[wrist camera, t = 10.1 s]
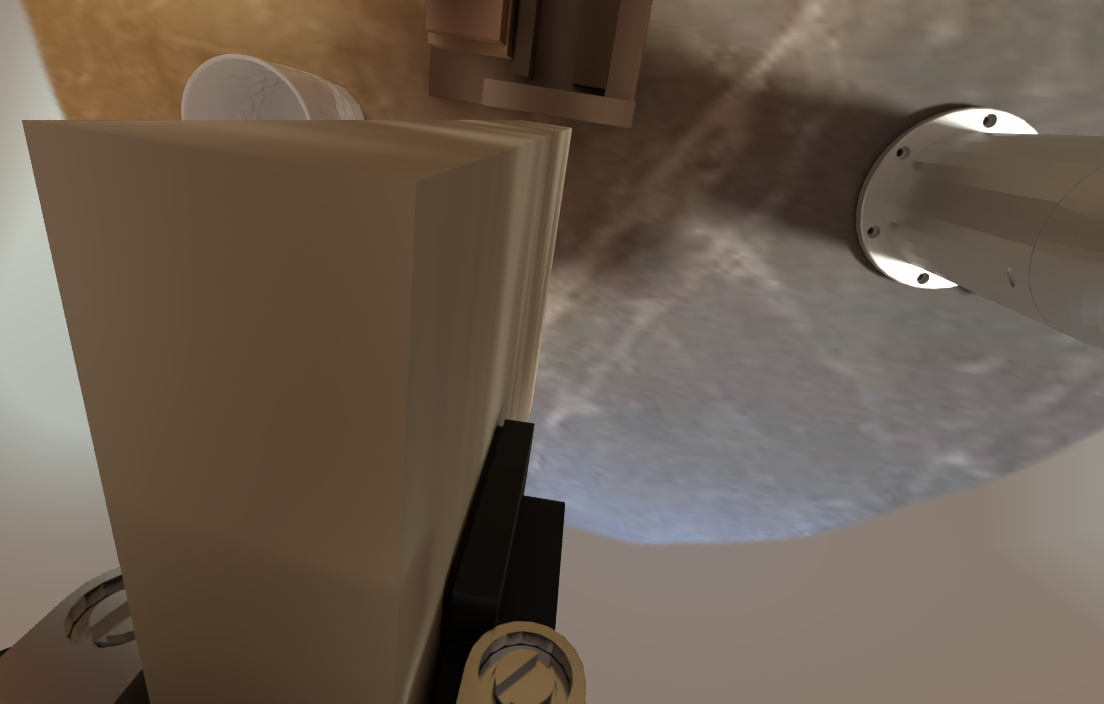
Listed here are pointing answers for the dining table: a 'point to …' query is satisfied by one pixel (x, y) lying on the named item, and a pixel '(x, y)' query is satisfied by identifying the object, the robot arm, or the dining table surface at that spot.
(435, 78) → the walnut rack
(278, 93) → the white cup
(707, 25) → the dining table surface
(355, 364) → the birch sheet
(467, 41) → the offcut bundle
